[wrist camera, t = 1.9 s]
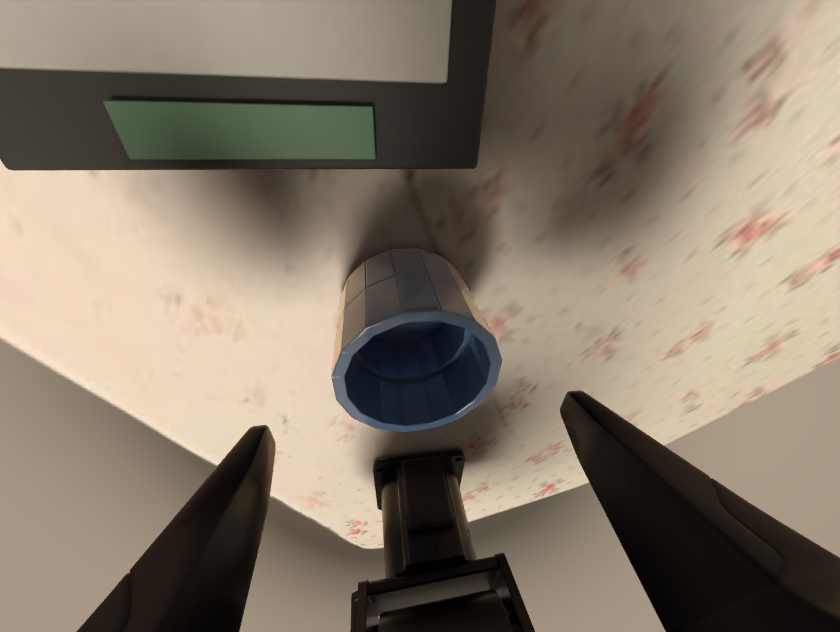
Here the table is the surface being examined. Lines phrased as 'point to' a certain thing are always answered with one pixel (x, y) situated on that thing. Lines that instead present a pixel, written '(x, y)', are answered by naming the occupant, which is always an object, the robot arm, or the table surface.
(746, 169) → the table surface
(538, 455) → the table surface
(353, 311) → the small cup
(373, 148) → the kitchen scale
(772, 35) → the table surface
